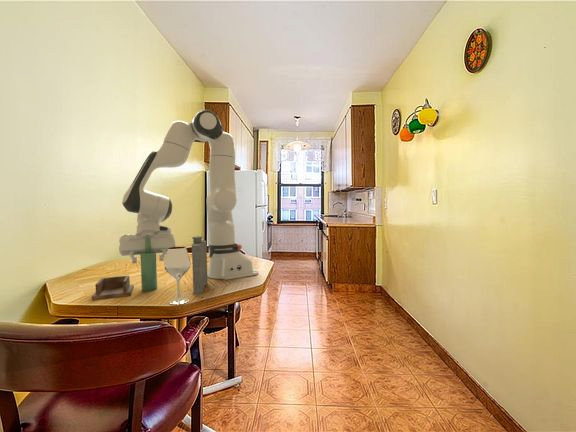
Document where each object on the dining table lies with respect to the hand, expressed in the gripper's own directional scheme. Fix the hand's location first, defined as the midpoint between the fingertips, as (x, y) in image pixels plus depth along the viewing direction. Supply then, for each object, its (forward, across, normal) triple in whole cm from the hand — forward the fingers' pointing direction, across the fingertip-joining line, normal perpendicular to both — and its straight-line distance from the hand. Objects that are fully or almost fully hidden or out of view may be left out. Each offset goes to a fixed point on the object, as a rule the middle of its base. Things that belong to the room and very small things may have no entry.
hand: (148, 261), depth 119 cm
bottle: (+7, 0, +8) cm, 11 cm away
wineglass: (+23, +10, -7) cm, 26 cm away
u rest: (+7, -12, +8) cm, 16 cm away
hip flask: (+13, +18, +3) cm, 22 cm away
